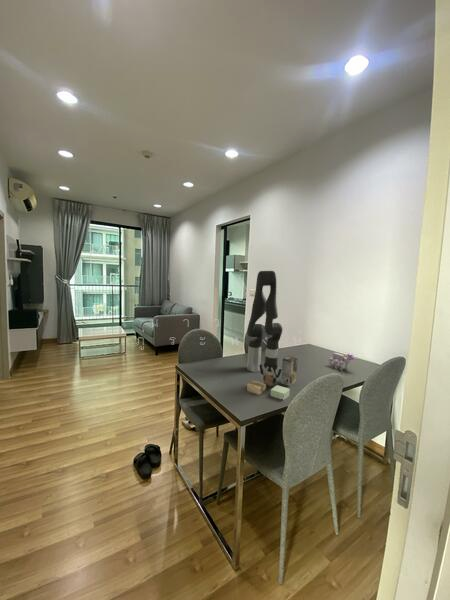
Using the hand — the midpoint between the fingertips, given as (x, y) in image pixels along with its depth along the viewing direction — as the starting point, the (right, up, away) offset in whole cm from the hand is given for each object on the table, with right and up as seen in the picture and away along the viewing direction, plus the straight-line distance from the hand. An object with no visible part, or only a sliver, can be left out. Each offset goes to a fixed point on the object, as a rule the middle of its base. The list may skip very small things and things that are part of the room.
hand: (269, 382), depth 160 cm
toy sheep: (+62, -3, +38) cm, 73 cm away
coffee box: (+13, -3, +8) cm, 16 cm away
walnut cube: (0, -1, 0) cm, 1 cm away
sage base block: (+4, -4, -11) cm, 13 cm away
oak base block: (-9, -3, -6) cm, 11 cm away
